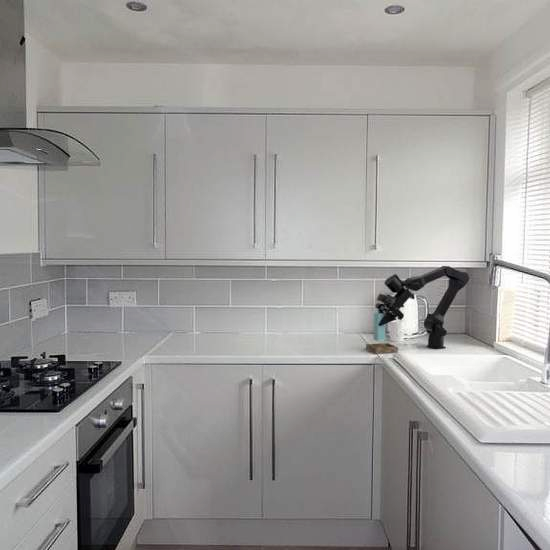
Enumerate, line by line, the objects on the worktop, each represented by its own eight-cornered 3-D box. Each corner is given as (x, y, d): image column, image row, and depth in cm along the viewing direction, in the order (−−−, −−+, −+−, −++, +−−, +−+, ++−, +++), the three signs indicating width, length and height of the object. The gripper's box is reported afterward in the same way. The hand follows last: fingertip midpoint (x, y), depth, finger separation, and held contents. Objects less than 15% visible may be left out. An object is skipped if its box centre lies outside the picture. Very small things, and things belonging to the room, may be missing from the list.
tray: (387, 348, 244) (387, 343, 244) (397, 352, 234) (398, 347, 234) (366, 349, 241) (366, 344, 241) (375, 354, 231) (375, 348, 231)
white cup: (404, 339, 265) (405, 320, 265) (404, 342, 258) (404, 322, 257) (389, 338, 267) (389, 319, 267) (388, 341, 260) (388, 321, 259)
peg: (381, 338, 239) (381, 313, 239) (385, 340, 235) (385, 314, 234) (374, 339, 238) (374, 313, 238) (378, 340, 234) (378, 314, 234)
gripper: (378, 285, 245) (357, 310, 243) (397, 289, 227) (374, 315, 225) (394, 301, 248) (372, 325, 246) (413, 306, 230) (390, 332, 228)
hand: (376, 324), depth 236 cm, fingers closed on peg, 4 cm apart
